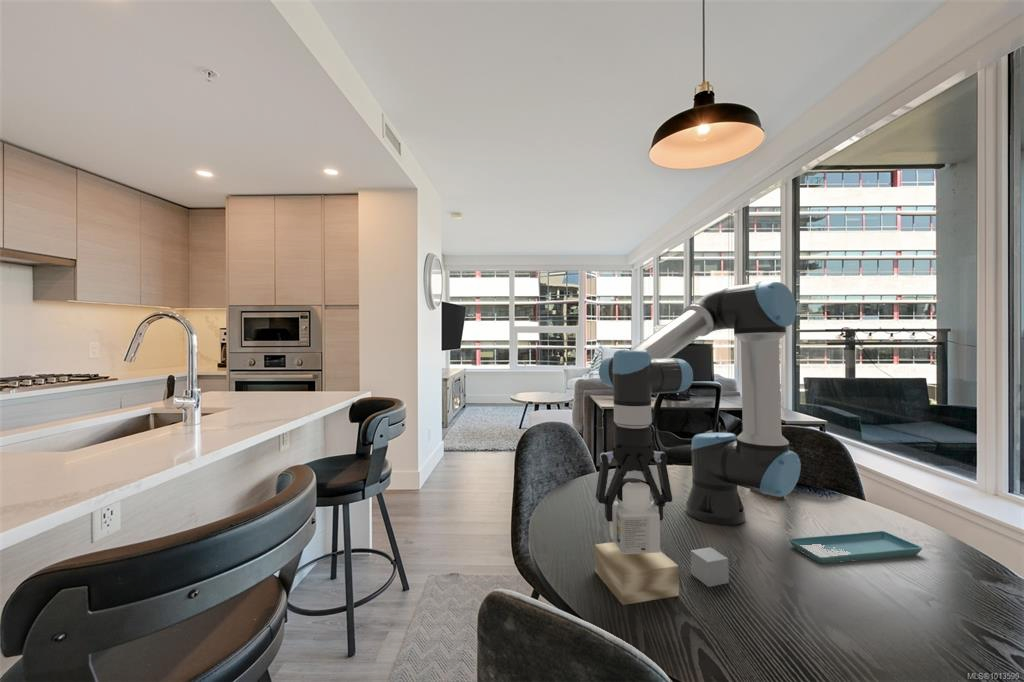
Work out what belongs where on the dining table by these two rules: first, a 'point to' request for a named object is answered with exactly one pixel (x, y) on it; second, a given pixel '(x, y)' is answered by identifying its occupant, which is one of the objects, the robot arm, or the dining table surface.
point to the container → (636, 519)
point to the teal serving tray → (859, 546)
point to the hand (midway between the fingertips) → (634, 536)
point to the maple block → (636, 574)
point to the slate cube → (709, 566)
